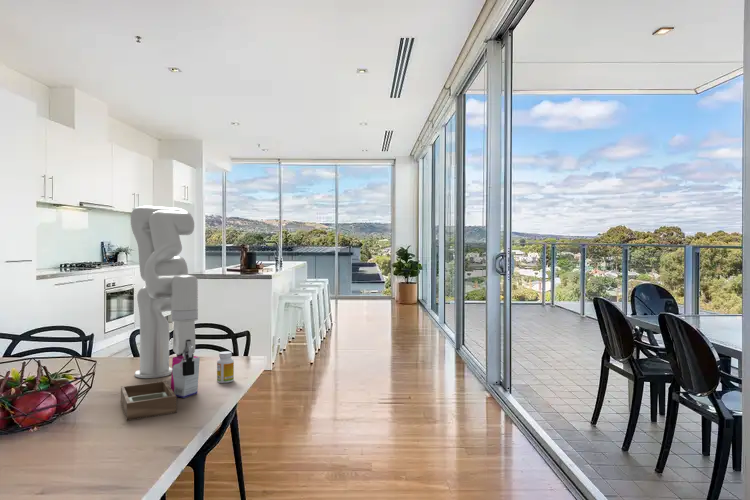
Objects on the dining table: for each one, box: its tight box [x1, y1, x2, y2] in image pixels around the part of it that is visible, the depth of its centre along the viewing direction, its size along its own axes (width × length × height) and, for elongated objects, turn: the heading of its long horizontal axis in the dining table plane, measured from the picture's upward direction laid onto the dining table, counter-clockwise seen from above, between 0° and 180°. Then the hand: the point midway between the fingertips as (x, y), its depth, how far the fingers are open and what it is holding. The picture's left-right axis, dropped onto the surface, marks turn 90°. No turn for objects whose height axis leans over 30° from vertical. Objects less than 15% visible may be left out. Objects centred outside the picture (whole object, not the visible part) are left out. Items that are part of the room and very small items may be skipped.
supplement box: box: [170, 355, 201, 399], centre depth 148 cm, size 6×6×12 cm
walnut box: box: [120, 380, 177, 422], centre depth 136 cm, size 18×12×4 cm, turn 32°
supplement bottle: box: [216, 351, 235, 384], centre depth 163 cm, size 5×5×10 cm
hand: (185, 372), depth 147 cm, fingers open, 9 cm apart
